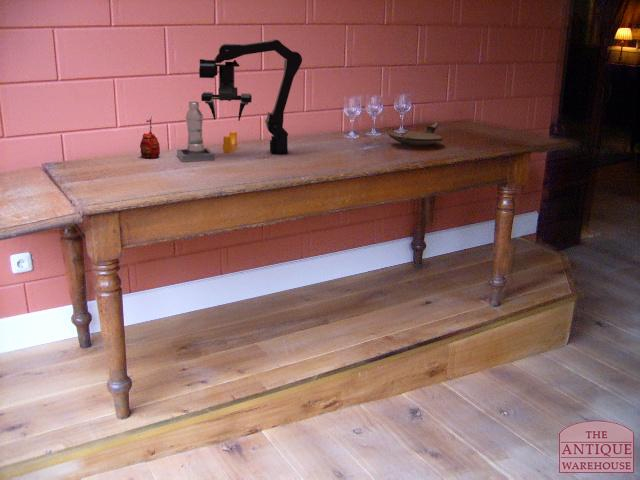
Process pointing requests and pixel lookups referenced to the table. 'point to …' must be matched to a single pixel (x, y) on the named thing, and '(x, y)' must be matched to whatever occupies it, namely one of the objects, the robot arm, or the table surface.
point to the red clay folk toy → (149, 144)
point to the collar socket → (195, 155)
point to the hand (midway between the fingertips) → (227, 120)
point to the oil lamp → (418, 137)
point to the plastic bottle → (194, 129)
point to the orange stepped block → (230, 142)
